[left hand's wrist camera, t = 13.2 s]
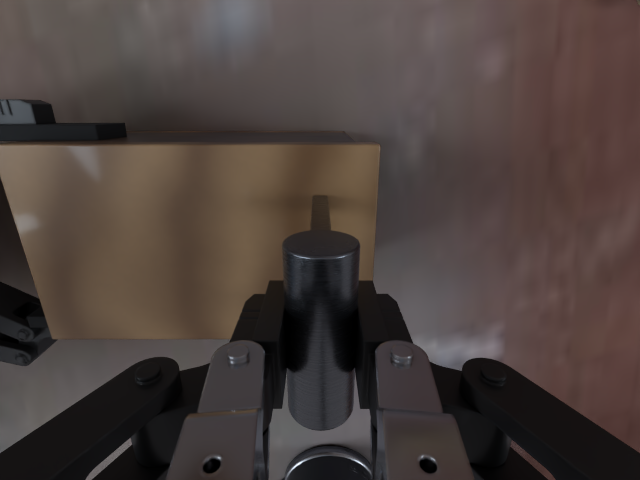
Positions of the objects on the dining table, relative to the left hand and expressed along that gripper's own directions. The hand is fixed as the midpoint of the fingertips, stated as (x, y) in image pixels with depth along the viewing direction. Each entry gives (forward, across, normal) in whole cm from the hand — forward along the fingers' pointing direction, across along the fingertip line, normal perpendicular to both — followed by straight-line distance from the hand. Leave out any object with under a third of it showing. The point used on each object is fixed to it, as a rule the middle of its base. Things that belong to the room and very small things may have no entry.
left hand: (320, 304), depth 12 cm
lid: (+6, +6, 0) cm, 8 cm away
